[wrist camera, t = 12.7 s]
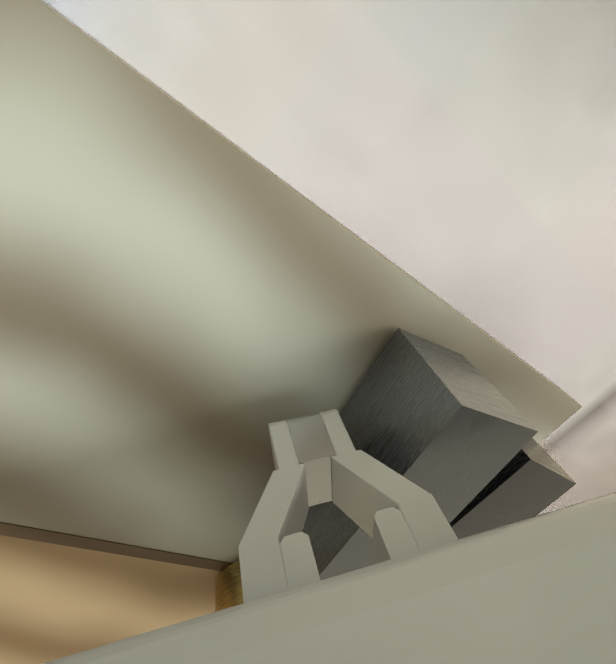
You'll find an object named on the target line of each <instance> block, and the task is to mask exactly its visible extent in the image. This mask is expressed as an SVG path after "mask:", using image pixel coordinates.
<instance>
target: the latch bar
mask: <svg viewBox="0 0 616 664" xmlns="http://www.w3.org/2000/svg"><path fill="white" fill-rule="evenodd" d="M339 415H340V417H341V419H342V421H343V423H344V426H345V428H346V430H347V432H348V434H349V437H350V439H351V441H352V443H353V445H354V447H355V450H356V451H357V450H362V451H364V452H365V453H367V454H369V455H370V456H372V457H373V458H375V459H376V460H378V461H380V462H381V463H383V464H384V465H386V466H387V467H389V468H391V469H392V470H394V471H395V472H397V473H399V474H400V475H402V476H403V477H405V478H406V479H408V480H410V481H411V482H413V483H414V484H416V485H417V486H419V487H421V488H422V489H424V490H425V491H427V492H428V493H430V494H432V495H433V497H434V499H435V500H436V502H437V504H438V506H439V507H440V509H441V511H442V512H443V514H444V516H445V517H446V519H447V521H448V522H449V523H450V522H451V521H452V520H453V519H454V518H455V517H456V516H457V515H458V514H459V513H460V512H461V511H462V510H463V509H464V508H465V507H466V506H467V505H468V504H469V503H470V502H471V501H472V500H473V499H474V498H475V497H476V495H477V494H478V493H479V492H480V491H481V490H482V489H483V488H484V487H485V486H486V485H487V484H488V483H489V482H490V481H491V480H492V479H493V478H494V477H495V476H496V475H497V474H498V473H499V472H500V471H501V470H502V469H503V468H504V467H505V465H506V464H507V463H508V462H509V461H510V460H511V459H512V458H513V457H514V456H515V455H516V454H517V453H518V452H519V451H520V450H521V449H522V448H523V447H524V446H525V445H526V444H527V443H528V442H529V441H530V440H531V439H532V438H533V437H534V436H535V434H536V433H537V432H538V431H537V430H536V429H535V428H534V427H533V426H532V425H531V424H530V423H529V421H528V420H527V419H526V418H525V417H524V416H523V415H522V414H521V413H520V412H519V411H518V410H517V409H516V408H515V407H514V406H513V405H512V404H511V403H510V402H509V401H508V400H507V399H506V398H505V397H504V396H503V395H502V394H501V393H500V392H499V391H498V390H497V389H496V388H495V387H494V386H493V385H492V384H491V383H490V382H489V381H488V380H487V379H486V378H485V377H484V376H483V375H482V374H481V373H480V372H479V371H478V370H477V369H476V368H475V367H474V366H473V365H472V364H471V363H470V362H469V361H468V360H467V359H466V358H465V357H464V356H463V355H462V354H459V353H457V352H455V351H452V350H450V349H447V348H445V347H443V346H440V345H438V344H436V343H433V342H431V341H428V340H426V339H424V338H421V337H419V336H416V335H414V334H412V333H409V332H407V331H405V330H402V329H400V328H398V329H397V330H396V332H395V333H394V335H393V336H392V337H391V339H390V340H389V342H388V343H387V345H386V346H385V348H384V349H383V351H382V352H381V353H380V355H379V356H378V358H377V359H376V361H375V362H374V364H373V365H372V366H371V368H370V369H369V371H368V372H367V374H366V375H365V377H364V378H363V380H362V381H361V382H360V384H359V385H358V387H357V388H356V390H355V391H354V393H353V394H352V396H351V397H350V398H349V400H348V401H347V403H346V404H345V406H344V407H343V409H342V410H341V412H340V413H339ZM302 532H303V533H305V534H307V535H309V539H310V543H311V546H312V550H313V554H314V557H315V561H316V565H317V569H318V572H319V576H320V580H323V579H327V578H330V577H333V576H337V575H340V574H343V573H347V572H350V571H354V570H357V569H360V568H364V567H367V566H370V565H371V554H372V540H373V539H372V538H371V537H370V536H369V535H368V534H367V533H366V532H365V531H364V530H363V529H361V528H360V527H359V526H358V525H357V524H356V523H355V522H354V521H353V520H352V519H351V518H349V517H348V516H347V515H346V514H345V513H344V512H343V511H342V510H341V509H340V508H339V507H338V506H336V505H335V504H334V503H333V501H329V502H325V503H320V504H317V505H313V506H310V507H309V510H308V514H307V517H306V521H305V524H304V528H303V531H302ZM214 592H215V612H216V611H220V610H223V609H226V608H230V607H233V606H236V605H240V604H243V592H242V581H241V570H240V560H239V561H237V562H235V563H233V564H231V565H230V566H228V567H227V568H225V569H224V570H223V571H222V572H221V573H220V574H219V575H218V577H217V578H216V581H215V585H214Z"/></svg>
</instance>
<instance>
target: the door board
mask: <svg viewBox="0 0 616 664" xmlns="http://www.w3.org/2000/svg"><path fill="white" fill-rule="evenodd" d="M398 328H400V329H402V330H405V331H407V332H409V333H412V334H414V335H416V336H419V337H421V338H424V339H426V340H428V341H431V342H433V343H436V344H438V345H440V346H443V347H445V348H447V349H450V350H452V351H455V352H457V353H459V354H462V355H463V356H464V357H465V358H466V359H467V360H468V361H469V362H470V363H471V364H472V365H473V366H474V367H475V368H476V369H477V370H478V371H479V372H480V373H481V374H482V375H483V376H484V377H485V378H486V379H487V380H488V381H489V382H490V383H491V384H492V385H493V386H494V387H495V388H496V389H497V390H498V391H499V392H500V393H501V394H502V395H503V396H504V397H505V398H506V399H507V400H508V401H509V402H510V403H511V404H512V405H513V406H514V407H515V408H516V409H517V410H518V411H519V412H520V413H521V414H522V415H523V416H524V417H525V418H526V419H527V420H528V421H529V423H530V424H531V425H532V426H533V427H534V428H535V429H536V430H537V431H538V432H537V433H536V434H535V436H534V437H533V439H534V440H535V441H536V442H537V443H538V444H539V443H540V442H541V441H543V440H544V439H545V438H546V437H547V436H548V435H550V434H551V433H552V432H553V431H554V430H555V429H557V428H558V427H559V426H560V425H561V424H562V423H563V422H565V421H566V420H567V419H568V418H569V417H570V416H572V415H573V414H574V413H575V412H576V411H577V410H579V409H580V408H581V407H582V406H581V405H579V404H578V403H577V402H576V401H575V400H573V399H572V398H571V397H570V396H569V395H567V394H566V393H565V392H564V391H563V390H561V389H560V388H559V387H557V386H556V385H555V384H553V383H552V382H551V381H550V380H548V379H547V378H546V377H544V376H543V375H542V374H540V373H539V372H538V371H536V370H535V369H534V368H532V367H531V366H530V365H528V364H527V363H526V362H524V361H523V360H522V359H520V358H519V357H518V356H516V355H515V354H514V353H512V352H511V351H510V350H508V349H507V348H506V347H504V346H503V345H502V344H500V343H499V342H498V341H496V340H495V339H494V338H492V337H491V336H490V335H488V334H487V333H486V332H484V331H483V330H482V329H480V328H479V327H478V326H476V325H475V324H474V323H472V322H471V321H470V320H468V319H467V318H466V317H464V316H463V315H462V314H460V313H459V312H458V311H456V310H455V309H454V308H452V307H451V306H450V305H448V304H447V303H446V302H444V301H443V300H442V299H440V298H439V297H438V296H436V295H435V294H434V293H432V292H431V291H430V290H428V289H427V288H426V287H424V286H423V285H422V284H420V283H419V282H418V281H416V280H415V279H414V278H412V277H411V276H410V275H408V274H407V273H406V272H404V271H403V270H402V269H400V268H399V267H398V266H396V265H395V264H394V263H392V262H391V261H390V260H388V259H387V258H386V257H384V256H383V255H382V254H380V253H379V252H378V251H376V250H375V249H374V248H372V247H371V246H370V245H368V244H367V243H366V242H364V241H363V240H362V239H360V238H359V237H358V236H356V235H355V234H354V233H352V232H351V231H350V230H348V229H347V228H346V227H344V226H343V225H342V224H340V223H339V222H338V221H336V220H335V219H334V218H332V217H331V216H330V215H328V214H327V213H326V212H324V211H323V210H322V209H320V208H319V207H318V206H316V205H315V204H314V203H312V202H311V201H310V200H308V199H307V198H306V197H304V196H303V195H302V194H300V193H299V192H298V191H296V190H295V189H294V188H292V187H291V186H290V185H288V184H287V183H286V182H284V181H283V180H282V179H280V178H279V177H278V176H276V175H275V174H274V173H272V172H271V171H270V170H268V169H267V168H266V167H264V166H263V165H262V164H260V163H259V162H258V161H256V160H255V159H254V158H252V157H251V156H250V155H248V154H247V153H246V152H244V151H243V150H242V149H240V148H239V147H238V146H236V145H235V144H234V143H232V142H231V141H230V140H228V139H227V138H226V137H224V136H223V135H222V134H220V133H219V132H218V131H216V130H215V129H214V128H212V127H211V126H210V125H208V124H207V123H206V122H204V121H203V120H202V119H200V118H199V117H198V116H196V115H195V114H194V113H192V112H191V111H190V110H188V109H187V108H186V107H184V106H183V105H182V104H180V103H179V102H178V101H176V100H175V99H174V98H172V97H171V96H170V95H168V94H167V93H166V92H164V91H163V90H162V89H160V88H159V87H158V86H157V85H155V84H154V83H153V82H151V81H150V80H149V79H147V78H146V77H145V76H143V75H142V74H141V73H139V72H138V71H137V70H135V69H134V68H133V67H131V66H130V65H129V64H127V63H126V62H125V61H123V60H122V59H121V58H119V57H118V56H117V55H115V54H114V53H113V52H111V51H110V50H109V49H107V48H106V47H105V46H103V45H102V44H101V43H99V42H98V41H97V40H95V39H94V38H93V37H91V36H90V35H89V34H87V33H86V32H85V31H83V30H82V29H81V28H79V27H78V26H77V25H75V24H74V23H73V22H71V21H70V20H69V19H67V18H66V17H65V16H63V15H62V14H61V13H59V12H58V11H57V10H55V9H54V8H53V7H51V6H50V5H49V4H47V3H46V2H45V1H43V0H0V664H42V663H45V662H49V661H52V660H55V659H59V658H62V657H65V656H69V655H72V654H75V653H79V652H82V651H85V650H89V649H92V648H95V647H99V646H102V645H106V644H109V643H112V642H116V641H119V640H122V639H126V638H129V637H132V636H136V635H139V634H142V633H146V632H149V631H152V630H156V629H159V628H163V627H166V626H169V625H173V624H176V623H179V622H183V621H186V620H189V619H193V618H196V617H199V616H203V615H206V614H209V613H213V612H215V592H214V585H215V581H216V578H217V577H218V575H219V574H220V573H221V572H222V571H223V570H224V569H225V568H227V567H228V566H230V565H231V564H233V563H235V562H237V561H239V549H238V547H239V544H240V542H241V540H242V538H243V536H244V533H245V531H246V529H247V527H248V525H249V523H250V520H251V518H252V516H253V514H254V512H255V509H256V507H257V505H258V503H259V501H260V499H261V496H262V494H263V492H264V490H265V488H266V485H267V483H268V481H269V479H270V477H271V475H272V472H273V471H274V470H275V465H274V459H273V454H272V447H271V440H270V434H269V427H268V424H269V423H274V422H279V421H284V420H287V419H292V418H298V417H303V416H307V415H311V414H316V413H320V412H324V411H329V410H333V409H336V410H337V411H338V412H339V413H340V412H341V410H342V409H343V407H344V406H345V404H346V403H347V401H348V400H349V398H350V397H351V396H352V394H353V393H354V391H355V390H356V388H357V387H358V385H359V384H360V382H361V381H362V380H363V378H364V377H365V375H366V374H367V372H368V371H369V369H370V368H371V366H372V365H373V364H374V362H375V361H376V359H377V358H378V356H379V355H380V353H381V352H382V351H383V349H384V348H385V346H386V345H387V343H388V342H389V340H390V339H391V337H392V336H393V335H394V333H395V332H396V330H397V329H398Z"/></svg>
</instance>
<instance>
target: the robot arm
mask: <svg viewBox="0 0 616 664" xmlns="http://www.w3.org/2000/svg"><path fill="white" fill-rule="evenodd" d="M268 427H269V434H270V440H271V447H272V454H273V459H274V465H275V470H274V471H273V472H272V475H271V477H270V479H269V481H268V483H267V485H266V488H265V490H264V492H263V494H262V496H261V499H260V501H259V503H258V505H257V507H256V509H255V512H254V514H253V516H252V518H251V520H250V523H249V525H248V527H247V529H246V531H245V533H244V536H243V538H242V540H241V542H240V544H239V547H238V549H239V560H240V570H241V581H242V592H243V604H240V605H236V606H233V607H230V608H226V609H223V610H220V611H216V612H213V613H209V614H206V615H203V616H199V617H196V618H193V619H189V620H186V621H183V622H179V623H176V624H173V625H169V626H166V627H163V628H159V629H156V630H152V631H149V632H146V633H142V634H139V635H136V636H132V637H129V638H126V639H122V640H119V641H116V642H112V643H109V644H106V645H102V646H99V647H95V648H92V649H89V650H85V651H82V652H79V653H75V654H72V655H69V656H65V657H62V658H59V659H55V660H52V661H49V662H45V663H42V664H616V492H615V493H612V494H608V495H605V496H602V497H598V498H595V499H592V500H588V501H585V502H582V503H578V504H575V505H572V506H568V507H565V508H562V509H558V510H555V511H552V512H548V513H545V514H541V515H538V516H535V517H531V518H528V519H525V520H521V521H518V522H515V523H511V524H508V525H505V526H501V527H498V528H495V529H491V530H488V531H485V532H481V533H478V534H474V535H471V536H468V537H464V538H461V539H458V538H457V536H456V534H455V533H454V531H453V529H452V528H451V526H450V524H449V522H448V521H447V519H446V517H445V516H444V514H443V512H442V511H441V509H440V507H439V506H438V504H437V502H436V500H435V499H434V497H433V495H432V494H430V493H428V492H427V491H425V490H424V489H422V488H421V487H419V486H417V485H416V484H414V483H413V482H411V481H410V480H408V479H406V478H405V477H403V476H402V475H400V474H399V473H397V472H395V471H394V470H392V469H391V468H389V467H387V466H386V465H384V464H383V463H381V462H380V461H378V460H376V459H375V458H373V457H372V456H370V455H369V454H367V453H365V452H364V451H362V450H357V451H356V450H355V447H354V445H353V443H352V441H351V439H350V437H349V434H348V432H347V430H346V428H345V426H344V423H343V421H342V419H341V417H340V415H339V412H338V411H337V410H336V409H333V410H329V411H324V412H320V413H316V414H311V415H307V416H303V417H298V418H292V419H287V420H284V421H279V422H274V423H269V424H268ZM329 501H333V503H334V504H335V505H336V506H338V507H339V508H340V509H341V510H342V511H343V512H344V513H345V514H346V515H347V516H348V517H349V518H351V519H352V520H353V521H354V522H355V523H356V524H357V525H358V526H359V527H360V528H361V529H363V530H364V531H365V532H366V533H367V534H368V535H369V536H370V537H371V538H372V539H373V540H372V554H371V565H370V566H367V567H364V568H360V569H357V570H354V571H350V572H347V573H343V574H340V575H337V576H333V577H330V578H327V579H323V580H320V576H319V572H318V569H317V565H316V561H315V557H314V554H313V550H312V546H311V543H310V539H309V535H307V534H305V533H303V532H302V531H303V528H304V524H305V521H306V517H307V514H308V510H309V507H310V506H313V505H317V504H320V503H325V502H329Z"/></svg>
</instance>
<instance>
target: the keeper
mask: <svg viewBox="0 0 616 664" xmlns="http://www.w3.org/2000/svg"><path fill="white" fill-rule="evenodd" d="M575 484H576V483H575V482H574V481H573V480H572V479H571V478H570V477H569V475H568V474H567V473H566V472H565V471H564V470H563V469H562V468H561V467H560V466H559V465H558V464H557V463H556V462H555V461H554V460H553V459H552V458H551V457H550V456H549V454H548V453H547V452H546V451H545V450H544V449H543V448H542V447H541V446H540V445H539V444H538V443H537V442H536V441H535V440H534V439H533V438H532V439H531V440H530V441H529V442H528V443H527V444H526V445H525V446H524V447H523V448H522V449H521V450H520V451H519V452H518V453H517V454H516V455H515V456H514V457H513V458H512V459H511V460H510V461H509V462H508V463H507V464H506V465H505V467H504V468H503V469H502V470H501V471H500V472H499V473H498V474H497V475H496V476H495V477H494V478H493V479H492V480H491V481H490V482H489V483H488V484H487V485H486V486H485V487H484V488H483V489H482V490H481V491H480V492H479V493H478V494H477V495H476V497H475V498H474V499H473V500H472V501H471V502H470V503H469V504H468V505H467V506H466V507H465V508H464V509H463V510H462V511H461V512H460V513H459V514H458V515H457V516H456V517H455V518H454V519H453V520H452V521H451V522H450V523H449V524H450V526H451V528H452V529H453V531H454V533H455V534H456V536H457V538H458V539H461V538H464V537H468V536H471V535H474V534H478V533H481V532H485V531H488V530H491V529H495V528H498V527H501V526H505V525H508V524H511V523H515V522H518V521H521V520H525V519H528V518H531V517H535V516H536V515H537V514H539V513H540V512H541V511H542V510H544V509H545V508H546V507H547V506H549V505H550V504H551V503H552V502H554V501H555V500H556V499H558V498H559V497H560V496H561V495H563V494H564V493H565V492H566V491H568V490H569V489H570V488H571V487H573V486H574V485H575Z"/></svg>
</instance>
